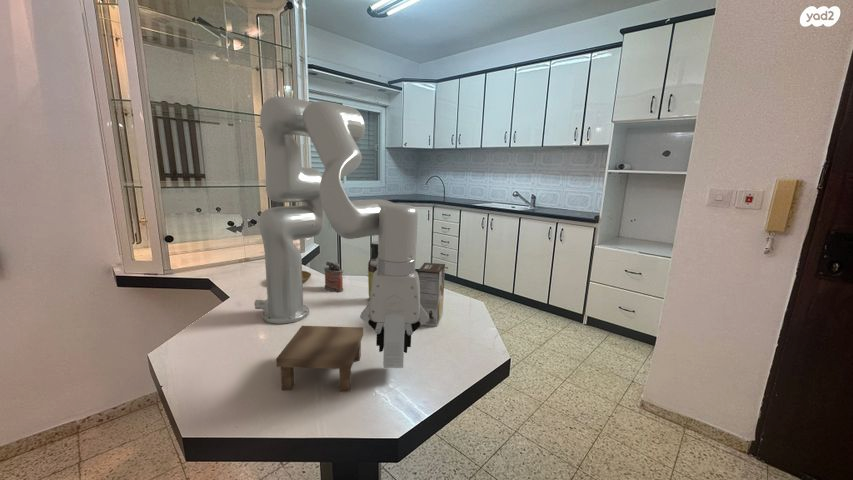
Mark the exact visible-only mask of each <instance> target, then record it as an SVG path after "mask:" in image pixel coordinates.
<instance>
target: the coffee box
mask: <svg viewBox="0 0 853 480" xmlns="http://www.w3.org/2000/svg"><path fill="white" fill-rule="evenodd" d="M445 268H446V264H445V263H435V262H424V263H423V264H422V266H421V267H420V268H419V269H418V270H417V272H418V275H419V282H420V304H421V306H422V307H423V308H424V310H425V311H426V313H427V314H428V316H429V321H428V322H426V323H425V324H423V325H422V326H430V327H438V326H439V325H440V322H441V319H442V317H443V314H444V293H445V271H446V269H445ZM420 317H421V316H420V315H419V318H420Z"/></svg>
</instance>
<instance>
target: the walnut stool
mask: <svg viewBox="0 0 853 480" xmlns="http://www.w3.org/2000/svg"><path fill="white" fill-rule="evenodd" d="M363 336H364V327H361V326H329V325H328V326H327V325H326V326H325V325H324V326H323V325H301V326H300V327H299V329H298V330H297V332H295V334H294V335H293V336H292V338H291V339H290V340H289V342H288V343H287V344H286V345H285V346H284V348H283V349H282V350H281V352H280V353H279V354H278V355H277V357H276V367H277V368H280V381H281V391H292V390H293V387H294V386H295V384H296V383H295V368H297V369H299V368H300V369H302V368H303V369H329V370H330V369H332V370H334V369H335V370H336V369H337V370H339V375H338V377H339V392H343V393H344V392H345V393H346V392H348V393H349V392H350V390H351V387H352V370H351V369H352V367H353V364H354V362H355V361H360V360H361V357H362V352H361V351H362V340H363V338H364V337H363Z"/></svg>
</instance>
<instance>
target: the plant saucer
mask: <svg viewBox="0 0 853 480" xmlns="http://www.w3.org/2000/svg"><path fill="white" fill-rule="evenodd" d="M311 277H312V273H311V272H309V271H307V270H302V284H305V283H306V282H307V281H308V280H309V279H310V278H311Z"/></svg>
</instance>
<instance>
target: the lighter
mask: <svg viewBox="0 0 853 480" xmlns="http://www.w3.org/2000/svg"><path fill="white" fill-rule="evenodd" d="M325 265H326V267H324V269H323V270H324V281H325V282H324V284H325V285H324V289H325V290H328V291H331V292H334V293H342V292H344V286H343V279H344V278H343V274H344V270H343V269H341V265H340V264H339V263H337V262H336V261H335V262H334V261H333V262H332V261H326V263H325Z"/></svg>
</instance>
